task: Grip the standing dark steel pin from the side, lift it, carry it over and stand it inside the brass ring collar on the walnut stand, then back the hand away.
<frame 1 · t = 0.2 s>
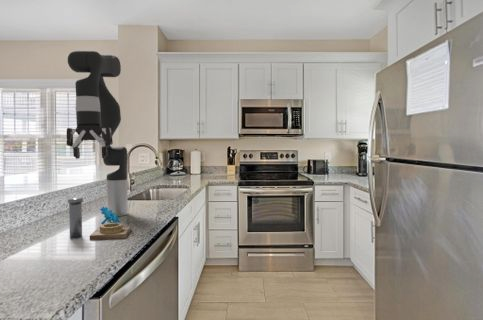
hand: (90, 158, 108), 29 cm above the worktop, tool pointing down, fingers open, 8 cm apart
pin: (76, 236, 114), on the worktop
stand: (111, 234, 117), on the worktop
blue irregular figure: (110, 224, 134), on the worktop
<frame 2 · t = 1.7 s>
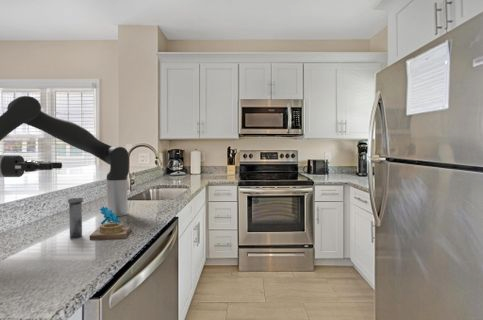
hand: (57, 166, 110), 26 cm above the worktop, tool horizontal, fingers open, 8 cm apart
nothing on the worktop moved.
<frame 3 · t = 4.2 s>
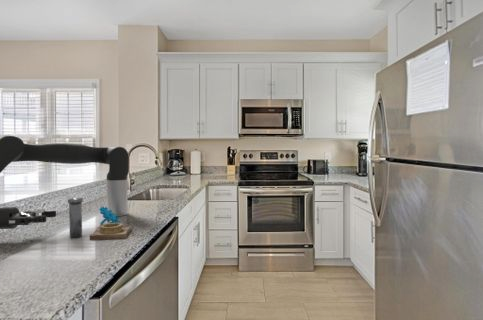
hand: (51, 216, 112), 8 cm above the worktop, tool horizontal, fingers open, 8 cm apart
nothing on the worktop moved.
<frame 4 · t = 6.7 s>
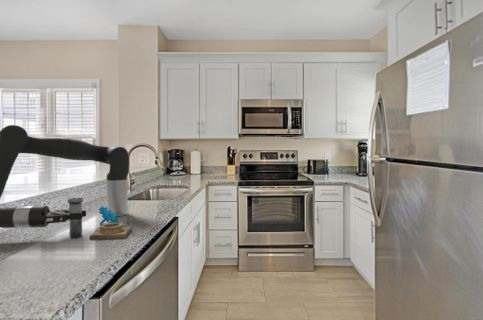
hand: (83, 214, 114), 8 cm above the worktop, tool horizontal, fingers closed on pin, 4 cm apart
pin: (76, 236, 114), on the worktop, touching gripper
everything else where it was.
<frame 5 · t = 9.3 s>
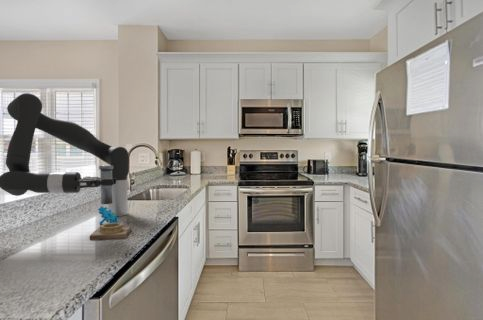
hand: (114, 181, 116), 20 cm above the worktop, tool horizontal, fingers closed on pin, 4 cm apart
pin: (106, 203, 116), point 12 cm above the worktop, touching gripper
everything else where it was.
when the fingers open (10 cm above the worktop, at t = 12.2 s): pin stays where it is, resting on stand.
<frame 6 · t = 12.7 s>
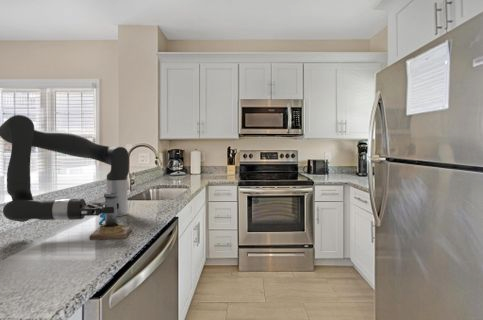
hand: (116, 207, 117), 10 cm above the worktop, tool horizontal, fingers open, 8 cm apart
pin: (111, 230, 117), point 2 cm above the worktop, touching stand
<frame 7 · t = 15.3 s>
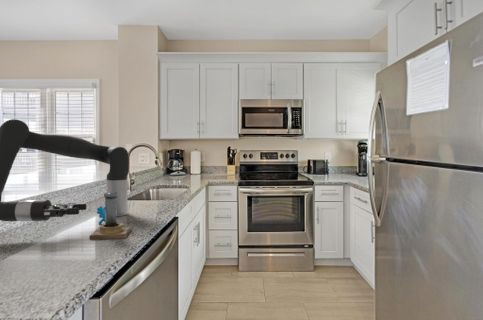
hand: (82, 208, 115), 10 cm above the worktop, tool horizontal, fingers open, 8 cm apart
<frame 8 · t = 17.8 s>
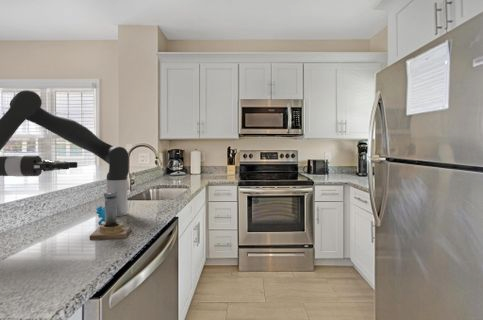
hand: (73, 165, 115), 26 cm above the worktop, tool horizontal, fingers open, 8 cm apart
at the end: pin 0.1 cm off-centre on the stand, point 1.5 cm above the stand's base; pin tilted 0°; the gripper is holding nothing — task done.
